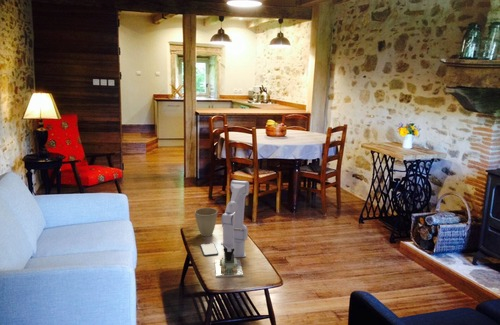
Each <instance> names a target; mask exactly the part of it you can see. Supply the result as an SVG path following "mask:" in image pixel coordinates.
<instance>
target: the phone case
mask: <svg viewBox="0 0 500 325" xmlns="http://www.w3.org/2000/svg"><path fill="white" fill-rule="evenodd" d="M200 249H201V252H202V255H203V257H212V256H213V257H214V256H219V252H218V250H217V246H216V245H215V243H214V242H210V243H209V242H208V243H201V244H200Z"/></svg>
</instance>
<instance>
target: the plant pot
mask: <svg viewBox="0 0 500 325" xmlns="http://www.w3.org/2000/svg"><path fill="white" fill-rule="evenodd" d="M218 212H219V211H218V210H217V209H216V208H212V207H202V208H199V209H196V210H195V211H194V215H195V221H196V225H197V227H198V230H199V233H200V236H201V237H202V236H203V237H211V236H213V233H214V230H215V227H216V222H217V219H218Z"/></svg>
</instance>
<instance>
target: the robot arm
mask: <svg viewBox="0 0 500 325" xmlns="http://www.w3.org/2000/svg"><path fill="white" fill-rule="evenodd" d="M230 192H231V198H230V201H229V202H228V203H227V205H226V208H225V211H224V213H222V215H221V217H220V218H221V219H220V220H221V221H220V222H221V226H222V242H220V245H221V246H223V252H225V254H226V260H227V261H231V258H232V254H233V252H234V258H246V257H247V255H246V249H245V248H246V246H245V245H246V243H245V242H246V241H247V240H248V236H249V235H248V234H249V233H248V230H249V229H248V227H247V226H246V225H245V224H244V218H245V206H246V196H248V195H249V193H250V182H249V181H248V180H235V179H232V180H231V182H230Z"/></svg>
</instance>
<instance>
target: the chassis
mask: <svg viewBox="0 0 500 325" xmlns="http://www.w3.org/2000/svg"><path fill="white" fill-rule="evenodd" d="M222 259H224V257H221V259H220V260H214V265H215V266H214V267H215V278H229V277H244V273H243V272H244V271H243V267H242V263H241V259H236V260H237V266H236V264H234V268H226V267H224V265H223V267H222Z"/></svg>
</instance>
